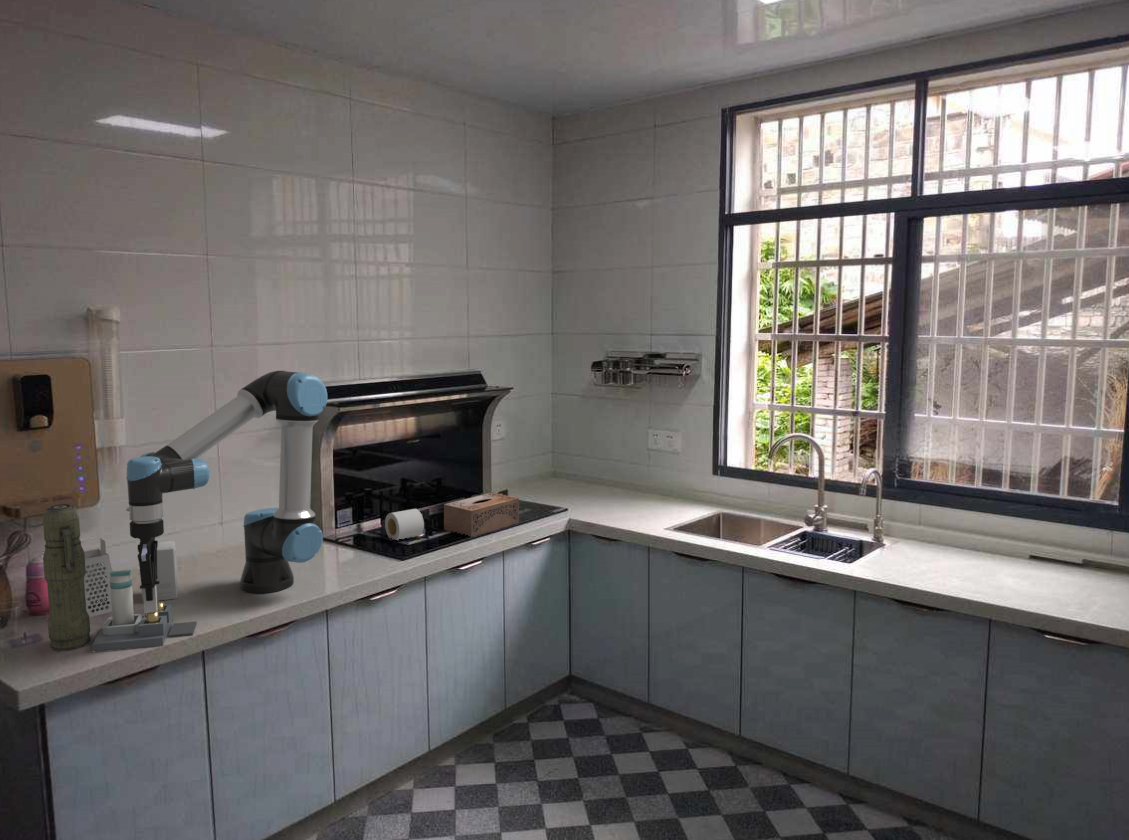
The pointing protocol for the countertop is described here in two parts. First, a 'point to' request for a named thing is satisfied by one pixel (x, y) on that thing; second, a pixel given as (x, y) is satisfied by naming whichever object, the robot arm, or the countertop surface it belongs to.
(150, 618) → the plunger
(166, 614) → the housing
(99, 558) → the grater
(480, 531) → the tissue box cover
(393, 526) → the toilet paper
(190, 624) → the mat
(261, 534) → the robot arm
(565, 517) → the countertop surface
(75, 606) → the thermos
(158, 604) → the plunger
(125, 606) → the cartridge
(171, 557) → the supplement box
